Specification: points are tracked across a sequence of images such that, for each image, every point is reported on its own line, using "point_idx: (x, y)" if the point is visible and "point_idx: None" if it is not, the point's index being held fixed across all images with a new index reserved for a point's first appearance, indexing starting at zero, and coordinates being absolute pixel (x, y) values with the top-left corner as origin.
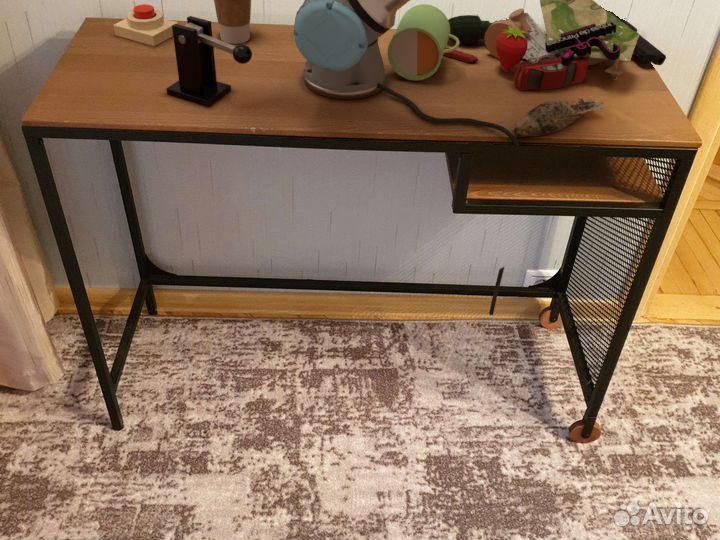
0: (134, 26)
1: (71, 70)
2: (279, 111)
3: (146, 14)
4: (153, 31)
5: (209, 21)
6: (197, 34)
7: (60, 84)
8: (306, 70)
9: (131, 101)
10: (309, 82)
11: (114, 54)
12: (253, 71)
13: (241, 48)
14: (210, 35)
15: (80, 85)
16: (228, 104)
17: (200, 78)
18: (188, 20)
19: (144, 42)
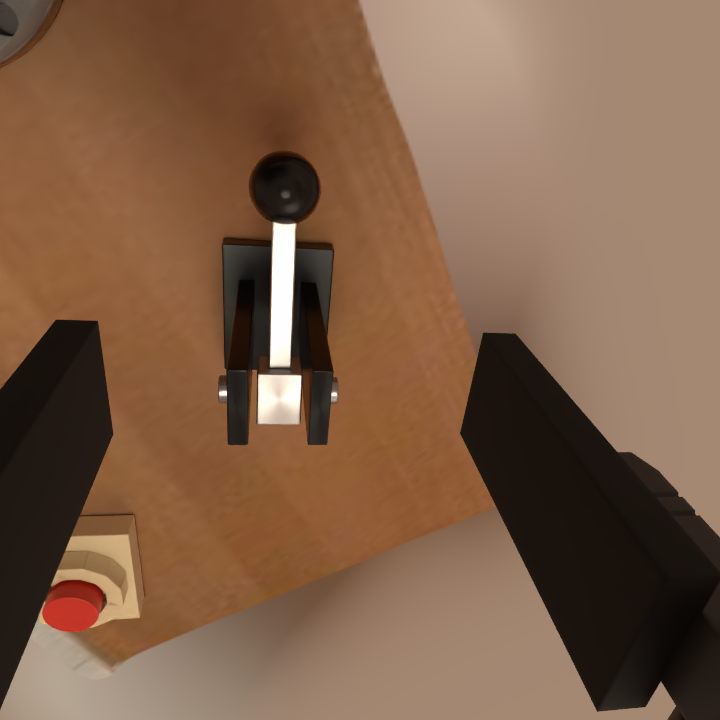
0: (125, 584)
1: (326, 559)
2: (252, 39)
3: (85, 594)
4: (106, 547)
5: (231, 372)
6: (292, 369)
7: (384, 539)
8: (10, 37)
9: (385, 404)
10: (52, 3)
11: (220, 547)
12: (78, 246)
13: (303, 186)
14: (241, 346)
15: (371, 513)
16: None
17: (311, 300)
18: (248, 434)
19: (136, 538)
